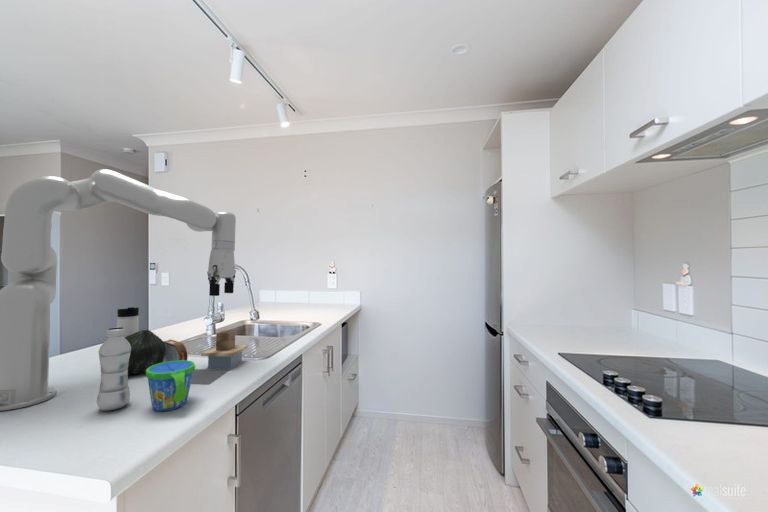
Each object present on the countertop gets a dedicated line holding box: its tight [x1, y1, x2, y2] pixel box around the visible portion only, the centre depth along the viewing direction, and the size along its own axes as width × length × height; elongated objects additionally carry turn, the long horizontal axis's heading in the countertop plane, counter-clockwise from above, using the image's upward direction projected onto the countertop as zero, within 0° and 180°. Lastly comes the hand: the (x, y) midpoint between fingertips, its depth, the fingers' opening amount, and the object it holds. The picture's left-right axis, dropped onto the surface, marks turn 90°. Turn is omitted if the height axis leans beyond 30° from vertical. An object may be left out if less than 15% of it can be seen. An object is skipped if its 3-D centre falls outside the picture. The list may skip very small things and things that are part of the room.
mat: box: [190, 368, 231, 386], centre depth 103 cm, size 13×13×1 cm
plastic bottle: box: [96, 326, 131, 412], centre depth 81 cm, size 6×7×20 cm
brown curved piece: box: [163, 339, 189, 362], centre depth 115 cm, size 15×3×8 cm, turn 58°
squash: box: [125, 329, 166, 375], centre depth 107 cm, size 14×15×15 cm
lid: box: [200, 330, 249, 357], centre depth 115 cm, size 11×11×7 cm
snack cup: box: [145, 359, 196, 412], centre depth 83 cm, size 16×10×10 cm
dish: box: [207, 351, 243, 370], centre depth 115 cm, size 8×8×5 cm
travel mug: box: [116, 306, 140, 338], centre depth 119 cm, size 6×7×20 cm
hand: (221, 294), depth 116 cm, fingers open, 9 cm apart
